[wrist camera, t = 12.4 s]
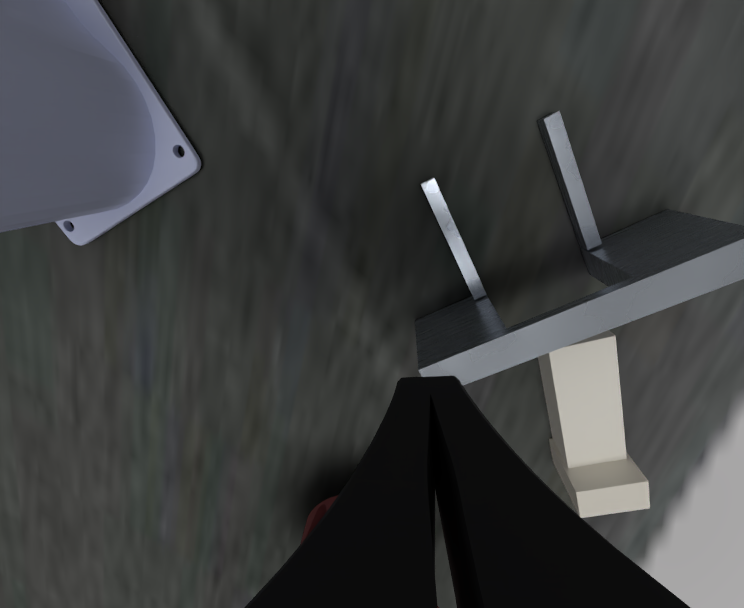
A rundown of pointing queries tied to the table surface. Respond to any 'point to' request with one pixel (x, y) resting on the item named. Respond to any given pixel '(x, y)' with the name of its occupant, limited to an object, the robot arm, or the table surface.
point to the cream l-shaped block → (591, 428)
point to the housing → (604, 262)
